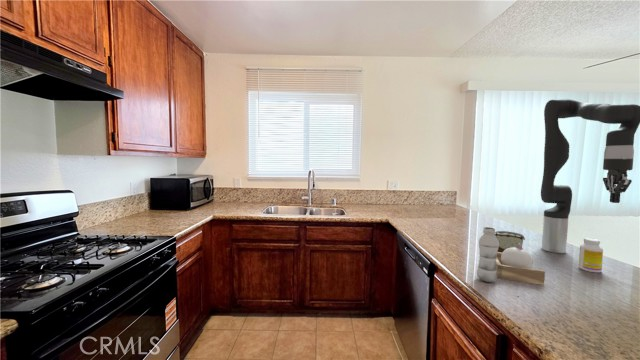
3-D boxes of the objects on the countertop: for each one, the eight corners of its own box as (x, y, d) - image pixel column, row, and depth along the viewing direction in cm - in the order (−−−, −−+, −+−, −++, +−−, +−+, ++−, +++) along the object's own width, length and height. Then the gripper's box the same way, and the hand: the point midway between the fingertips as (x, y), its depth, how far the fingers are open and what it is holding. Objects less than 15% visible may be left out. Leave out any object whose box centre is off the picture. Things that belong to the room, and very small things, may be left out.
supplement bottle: (606, 273, 104) (608, 242, 104) (586, 272, 106) (588, 241, 105) (592, 267, 111) (594, 237, 110) (574, 266, 112) (576, 236, 111)
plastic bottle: (472, 277, 101) (474, 226, 100) (488, 276, 102) (491, 226, 100) (484, 284, 95) (486, 230, 93) (501, 284, 95) (504, 230, 94)
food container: (522, 253, 128) (523, 233, 127) (524, 256, 123) (525, 236, 122) (492, 248, 135) (493, 229, 134) (492, 252, 130) (493, 232, 129)
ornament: (532, 272, 106) (534, 243, 105) (531, 281, 98) (533, 250, 97) (501, 265, 112) (503, 238, 111) (498, 273, 105) (500, 244, 104)
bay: (489, 262, 116) (489, 251, 116) (528, 267, 111) (529, 255, 110) (497, 277, 101) (498, 265, 100) (544, 285, 95) (544, 271, 94)
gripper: (595, 158, 107) (592, 199, 109) (615, 157, 95) (611, 204, 97) (620, 158, 104) (616, 200, 106) (644, 157, 92) (640, 206, 93)
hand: (614, 202), depth 101 cm, fingers closed
